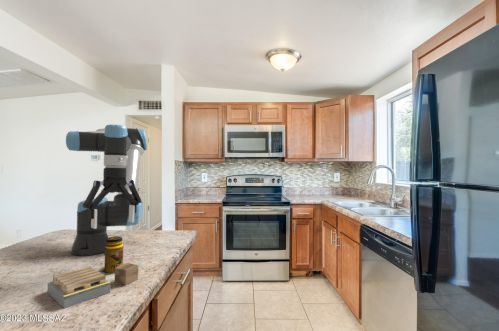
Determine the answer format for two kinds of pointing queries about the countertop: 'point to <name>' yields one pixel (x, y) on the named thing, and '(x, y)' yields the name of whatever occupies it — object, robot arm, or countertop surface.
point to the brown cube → (126, 274)
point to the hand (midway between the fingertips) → (113, 224)
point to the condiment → (112, 255)
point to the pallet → (78, 279)
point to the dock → (77, 293)
